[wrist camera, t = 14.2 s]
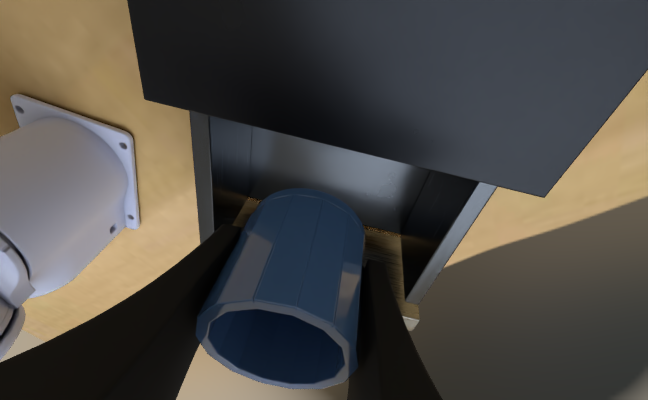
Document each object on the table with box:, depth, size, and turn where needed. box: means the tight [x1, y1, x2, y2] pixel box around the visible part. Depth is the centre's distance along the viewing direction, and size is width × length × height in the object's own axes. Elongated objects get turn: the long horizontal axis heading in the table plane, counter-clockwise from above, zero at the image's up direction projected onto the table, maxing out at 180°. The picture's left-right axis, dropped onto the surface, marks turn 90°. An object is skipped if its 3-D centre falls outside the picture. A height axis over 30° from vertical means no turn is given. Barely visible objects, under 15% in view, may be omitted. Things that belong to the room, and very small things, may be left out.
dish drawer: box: [189, 111, 498, 331], centre depth 18 cm, size 19×13×6 cm
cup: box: [195, 188, 366, 389], centre depth 11 cm, size 5×5×5 cm
